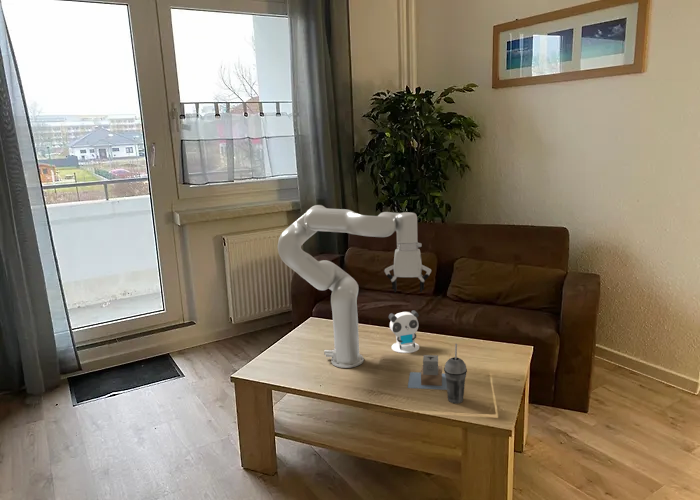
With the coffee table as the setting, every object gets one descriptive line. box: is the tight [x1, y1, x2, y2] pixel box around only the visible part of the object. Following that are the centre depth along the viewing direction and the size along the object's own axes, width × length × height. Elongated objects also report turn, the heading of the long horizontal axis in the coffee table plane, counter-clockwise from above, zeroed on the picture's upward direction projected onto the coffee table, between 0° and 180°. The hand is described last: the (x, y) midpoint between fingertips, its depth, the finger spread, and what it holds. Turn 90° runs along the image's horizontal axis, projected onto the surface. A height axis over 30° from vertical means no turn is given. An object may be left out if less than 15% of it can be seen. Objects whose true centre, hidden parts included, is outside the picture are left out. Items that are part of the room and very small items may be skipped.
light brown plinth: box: [420, 364, 443, 386], centre depth 185 cm, size 7×7×4 cm
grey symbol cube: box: [422, 354, 439, 375], centre depth 183 cm, size 5×5×5 cm
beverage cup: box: [443, 343, 468, 405], centre depth 170 cm, size 7×7×20 cm
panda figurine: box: [388, 309, 420, 354], centre depth 215 cm, size 12×11×15 cm
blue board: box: [407, 371, 447, 391], centre depth 185 cm, size 16×12×1 cm
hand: (408, 291), depth 197 cm, fingers open, 9 cm apart
